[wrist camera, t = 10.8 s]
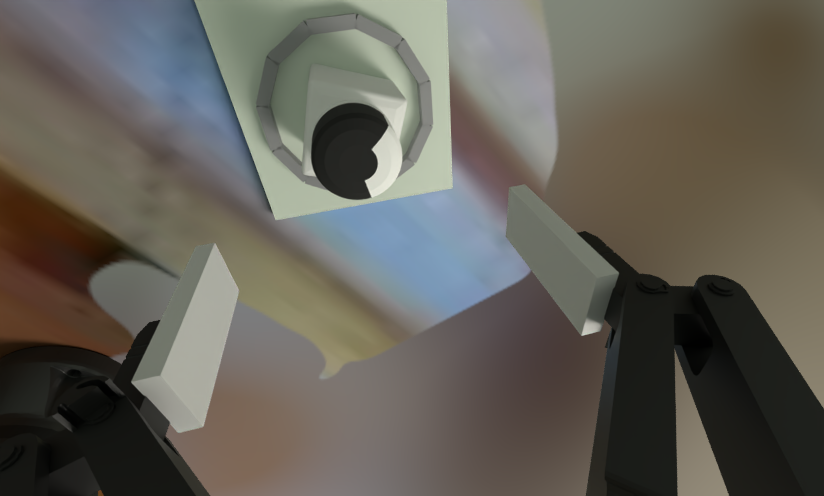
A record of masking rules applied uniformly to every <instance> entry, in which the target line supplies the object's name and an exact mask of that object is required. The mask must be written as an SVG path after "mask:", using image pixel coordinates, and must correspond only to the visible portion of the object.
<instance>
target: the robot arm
mask: <svg viewBox="0 0 824 496" xmlns="http://www.w3.org/2000/svg"><path fill="white" fill-rule="evenodd" d="M506 237H507V239H508V240H509V241H510V243H511V244H512V245H513V247H514V248H515V249H516V250H517V252H518V253H519V254H520V256H521V257H522V258H523V260H524V261H525V262H526V264H527V265H528V266H529V268H530V269H531V270H532V271H533V273H534V274H535V275H536V276H537V278H538V279H539V280H540V282H541V283H542V285H543V286H544V287H545V288H546V290H547V291H548V292H549V294H550V295H551V296H552V298H553V299H554V300H555V302H556V303H557V304H558V305H559V307H560V308H561V309H562V311H563V312H564V313H565V315H566V316H567V317H568V319H569V320H570V321H571V323H572V324H573V325H574V327H575V328H576V329H577V331H578V332H579V333H580V334H581V335H586V334H591V333H594V332H599V331H601V329H602V326H603V323H604V320H606V321H607V322H608V324H609V325H610V326H611V327H612V328H611V331H610V334H609V337H608V340H607V343H606V346H605V347H606V348H607V355H606V361H605V368H604V375H603V382H602V389H601V396H600V402H599V409H598V416H597V423H596V430H595V436H594V444H593V450H592V457H591V464H590V471H589V477H588V484H587V491H586V496H677V453H676V451H677V450H676V404H675V358H674V348H675V351H676V354H677V356H678V359H679V362H680V364H681V367H682V370H683V372H684V375H685V378H686V380H687V383H688V386H689V388H690V391H691V394H692V397H693V399H694V402H695V405H696V408H697V410H698V413H699V416H700V418H701V421H702V424H703V426H704V429H705V431H706V434H707V437H708V440H709V443H710V445H711V448H712V451H713V453H714V456H715V459H716V461H717V464H718V466H719V469H720V472H721V475H722V477H723V480H724V483H725V485H726V488H727V491H728V493H729V496H824V408H823V407H822V406H821V404H820V402H819V401H818V400H817V398H816V396H815V395H814V393H813V392H812V390H811V389H810V387H809V386H808V384H807V383H806V381H805V380H804V378H803V377H802V375H801V373H800V372H799V370H798V369H797V367H796V366H795V364H794V363H793V361H792V360H791V358H790V357H789V355H788V354H787V352H786V351H785V349H784V348H783V346H782V345H781V343H780V342H779V340H778V338H777V337H776V336H775V334H774V333H773V331H772V330H771V328H770V326H769V325H768V323H767V322H766V320H765V319H764V317H763V316H762V314H761V313H760V311H759V310H758V308H757V307H756V305H755V303H754V302H753V300H752V299H751V298H750V296H749V294H748V293H747V291H746V290H745V289H744V288H743V287H742V286H741V285H740V284H738V283H736V282H735V281H733V280H731V279H729V278H726V277H723V276H718V275H704V276H701V277H699V278H698V280H697V281H696V283H695V285H694V287H692V286H670V285H669V284H668V283H667V282H666V281H664V280H662V279H661V278H659V277H656V276H653V275H648V274H639V273H638V272H637V271H636V270H634V269H633V268H632V267H631V266H630V265H629V264H627V263H626V262H625V261H624V260H623V259H622V258H621V257H620V256H618V255H617V254H616V253H614V252H613V250H612V249H610V248H609V247H608V246H606V244H605V243H604V242H602V240H600V239H599V238H598V237H596V236H594V235H592V234H590V233H588V232H586V231H583V232H579V233H576V232H575V231H574V230H573V229H572V228H570V227H569V225H567V224H566V223H565V222H564V221H563V220H562V219H561V218H560V217H559V216H558V215H557V214H556V213H555V212H554V211H553V210H551V209H550V208H549V207H548V206H547V205H546V204H545V203H544V202H543V201H542V200H541V199H540V198H539V197H538V196H537V195H536V194H534V193H533V192H532V191H531V190H530V189H529V188H528V187H527V186H526V185H520V186H514V187H509V199H508V213H507V228H506ZM238 294H239V289H238V287H237V285H236V283H235V282H234V280H233V278H232V276H231V274H230V272H229V270H228V268H227V266H226V264H225V262H224V260H223V258H222V256H221V254H220V252H219V250H218V248H217V246H216V244H215V243H211V244H206V245H200V246H196V247H195V249H194V251H193V254H192V256H191V258H190V260H189V262H188V264H187V266H186V268H185V270H184V272H183V274H182V277H181V279H180V281H179V283H178V285H177V287H176V289H175V292H174V293H173V295H172V297H171V300H170V302H169V304H168V306H167V308H166V310H165V312H164V314H163V316H162V318H161V320H158V321H153V322H149V323H148V324H147V326H145V327H144V328H143V330H142V331H140V333H139V334H138V335H137V336H136V338H135V340H134V342H133V344H132V346H131V349H130V350H129V352H128V354H127V355H126V359H125V360H124V361H123V363H122V364H120V363H118V362H117V361H115V360H113V359H111V358H109V357H106V356H104V355H101V354H98V353H95V352H91V351H87V350H83V349H78V348H71V347H59V346H44V347H33V348H27V349H23V350H19V351H16V352H13V353H10V354H8V355H6V356H4V357H2V358H1V359H0V496H98V491H99V490H101V491H102V493H103V495H104V496H210V495H209V493H208V492H207V491H206V489H205V488H204V487H203V485H202V484H201V482H200V481H199V480H198V478H197V477H196V476H195V474H194V473H193V472H192V470H191V469H190V467H189V466H188V465H187V463H186V462H185V461H184V459H183V458H182V457H181V455H180V454H179V452H178V451H177V450H176V448H175V447H174V446H173V444H172V443H171V441H170V440H169V439H168V438H167V437H166V436H165V435H166V432H167V429H168V426H169V424H171V425H172V427H173V428H174V429H175V430H176V431H177V432H178V433H180V432H184V431H188V430H193V429H197V428H201V427H203V426H204V423H205V419H206V415H207V411H208V407H209V404H210V400H211V396H212V392H213V388H214V385H215V381H216V377H217V373H218V369H219V366H220V362H221V358H222V354H223V350H224V347H225V343H226V339H227V335H228V332H229V328H230V324H231V320H232V316H233V313H234V309H235V305H236V301H237V297H238Z"/></svg>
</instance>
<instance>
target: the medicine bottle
mask: <svg viewBox="0 0 824 496" xmlns="http://www.w3.org/2000/svg"><path fill="white" fill-rule="evenodd" d="M406 107H407V100H406V98H405V97H404V96H403V94H402V93H401V92H400V90H399V89H398V88H397V86H396V85H395V84H394V83H393V81H391V80H388V79H383V78H379V77H374V76H370V75H365V74H361V73H356V72H351V71H347V70H342V69H338V68H333V67H329V66H324V65H320V64H312V65H311V67H310V73H309V81H308V91H307V104H306V117H305V131H304V144H303V157H302V173H303V174H304V175H308V176H315V177H317V179H318V180H319V181H320V183H321V184H322V185H323V186H324V187H325V188H326V189H327V190H329V191H330V192H331V193H333V194H335V195H337V196H339V197H342V198H345V199H351V200H363V199H369V198H372V197H375V196H377V195H379V194H381V193H383V192H384V191H385V190H387V189H388V188H389V187H390V186H391V185H392V184H393V182H394V181H395V180H396V178H397V176H398V174H399V172H400V169H401V165H402V148H401V144H400V141H399V139H400V135H401V130H402V125H403V121H404V116H405V112H406Z"/></svg>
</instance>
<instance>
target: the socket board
mask: <svg viewBox="0 0 824 496" xmlns="http://www.w3.org/2000/svg"><path fill="white" fill-rule="evenodd" d="M194 1H195V3H196V6H197V9H198V11H199V14H200V17H201V19H202V22H203V25H204V28H205V30H206V33H207V36H208V38H209V41H210V44H211V47H212V49H213V52H214V55H215V57H216V60H217V63H218V65H219V68H220V71H221V74H222V76H223V79H224V82H225V84H226V87H227V90H228V92H229V95H230V98H231V101H232V103H233V106H234V109H235V111H236V114H237V117H238V119H239V122H240V125H241V128H242V130H243V133H244V136H245V138H246V141H247V144H248V146H249V149H250V152H251V155H252V157H253V160H254V163H255V165H256V168H257V171H258V173H259V176H260V179H261V182H262V184H263V187H264V190H265V192H266V195H267V198H268V200H269V203H270V206H271V209H272V211H273V214H274V217H275V219H276V220H280V219H285V218H291V217H296V216H302V215H307V214H313V213H318V212H324V211H329V210H335V209H340V208H346V207H351V206H357V205H363V204H368V203H374V202H379V201H385V200H390V199H396V198H401V197H407V196H412V195H418V194H423V193H429V192H434V191H440V190H445V189H451V188H453V187H452V156H451V124H450V92H449V60H448V28H447V0H194ZM312 64H320V65H324V66H329V67H333V68H338V69H342V70H347V71H351V72H356V73H361V74H365V75H370V76H374V77H379V78H383V79H388V80H391V81H393V83H394V84H395V85H396V86H397V88H398V89H399V90H400V92H401V93H402V94H403V96H404V97H405V98H406V100H407V107H406V112H405V116H404V121H403V125H402V130H401V135H400V139H399V141H400V144H401V148H402V165H401V169H400V172H399V174H398V176H397V178H396V180H395V181H394V182H393V184H392V185H391V186H390V187H389V188H388V189H387V190H385V191H384V192H383V193H381V194H379V195H377V196H375V197H372V198H369V199H363V200H351V199H345V198H342V197H339V196H337V195H335V194H333V193H331V192H330V191H329V190H327V189H326V188H325V187H324V186H323V185H322V184H321V183H320V181H319V180H318V179H317V177H315V176H308V175H304V174H303V173H302V157H303V144H304V131H305V117H306V104H307V91H308V81H309V73H310V67H311V65H312Z"/></svg>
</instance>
